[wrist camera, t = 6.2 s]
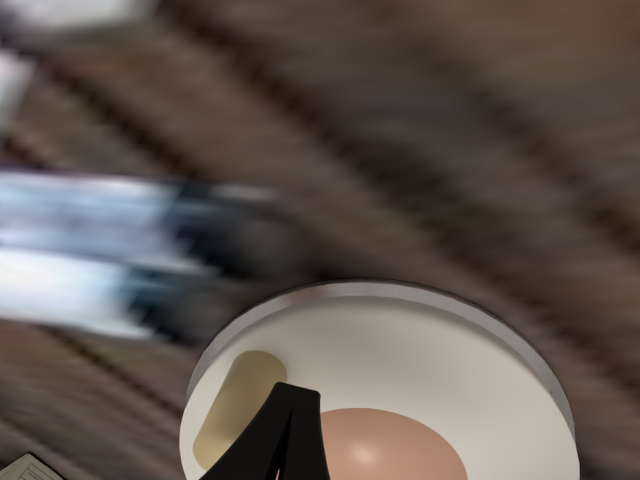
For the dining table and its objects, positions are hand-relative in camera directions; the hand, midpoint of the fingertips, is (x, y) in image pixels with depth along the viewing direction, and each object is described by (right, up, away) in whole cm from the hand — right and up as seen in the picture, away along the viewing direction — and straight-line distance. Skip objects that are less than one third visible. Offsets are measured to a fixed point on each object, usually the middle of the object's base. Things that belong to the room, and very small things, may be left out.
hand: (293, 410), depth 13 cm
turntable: (+3, -5, +9) cm, 10 cm away
